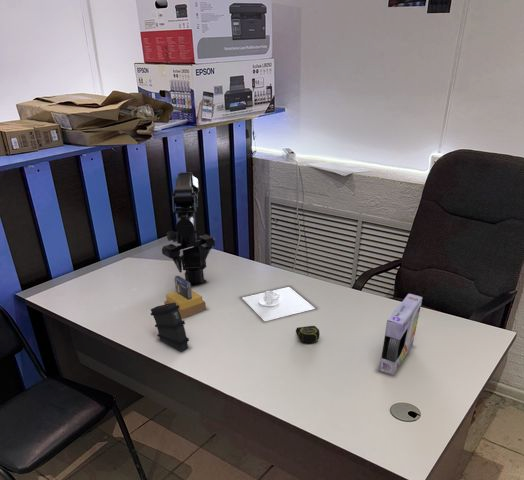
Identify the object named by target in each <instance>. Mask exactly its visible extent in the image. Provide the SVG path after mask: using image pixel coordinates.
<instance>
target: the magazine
mask: <svg viewBox="0 0 524 480" xmlns="http://www.w3.org/2000/svg"><path fill="white" fill-rule="evenodd" d="M178 308H180V307H179V305H176V303H175V302H174V303H169V304H161V305H160V304H159V305H157V306H155V307H153V308H150V316H152V317H153V319H154V322H155V324H154V327H155V328H157V331H158V334H156V336H157V337H158V338H159V341H161V342H162V343H164V344H166V345H167V346H170V347H171V348H173V349H175V350H177V351H178V352H184V351H185V350H187V349H188V348H189V344H188V343H189V341H190V338H189V337H187V333H186V328H185V325H186V322H185V320H183V318H181V315H180V312H179V310H178Z"/></svg>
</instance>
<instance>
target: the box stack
mask: <svg viewBox="0 0 524 480" xmlns="http://www.w3.org/2000/svg"><path fill="white" fill-rule="evenodd" d="M191 293H192V299H189V300H188V299H186V298H184V297H183V296H181V295H180V294H178V293H177V292H176V291H172V292H170V293H167V294H166V295H165V297H166V300H165V301H164V302H163V303H164V304H163V305H165V304H169V303H174V302H175V303H176V305H179V307H180V308H178V310H179V312H180V315H181V318H182V319H184V318H187V317H189V316H192V315H194V314H195V315H196V314H198V313H200V312H203V311H205V310H207V305H206V301H204V300H203V295H201V294H199V293H198V292H196V291H195V290H193V289H191Z"/></svg>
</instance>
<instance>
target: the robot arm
mask: <svg viewBox="0 0 524 480" xmlns="http://www.w3.org/2000/svg"><path fill="white" fill-rule="evenodd" d="M199 193H200V184H199V179H198V178H197V177H195V176H194V175H193V172H190V171H188V172H187V171H185V172H183V171H182V172H179V173H178V174H177V177H176V178H175V187H174V189H173V192H171V200H172V201H171V202H172V203H171V204H172V214H174V215H175V214H176V215H177V219H176V223H175V224H176V225H175V230H176V231H174V230H170V231H166V238H167V240H168V242H171V241H172V243H170V244H166V245H163V246H162V248H161V254H162V255H163V256H165V257H167V258H169V259H171V260H172V261H173V262H174V265H175V266H176V269H177V271H178V272H179V273H182V272H183V271H185V272H184V279H185V280H186V281H188V282H190V284H191V287H197V286H199V285H202V284H206V283H207V280H206V279H205V277H204V270H205V268H207V258H208V255H209V254H210V252H211V250H212V249H213V247H215V246H216V240H215V238H214V237H213V236H211V235H209V234H207V233H206V234H203V235H199V236H197V234H199V230H198V229H197V226H196V225H197V224H196V213H197V210H199V199H198V198H199ZM174 243H176V244H179V245H174ZM181 252H182V254H181Z"/></svg>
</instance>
